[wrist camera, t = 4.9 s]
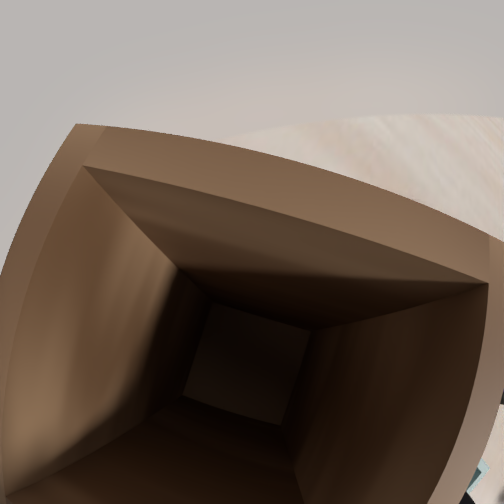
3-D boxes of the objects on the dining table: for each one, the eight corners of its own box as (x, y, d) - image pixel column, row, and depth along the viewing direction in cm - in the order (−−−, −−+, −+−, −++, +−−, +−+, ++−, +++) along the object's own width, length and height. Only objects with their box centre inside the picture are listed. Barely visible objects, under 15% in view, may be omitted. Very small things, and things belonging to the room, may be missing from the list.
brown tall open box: (286, 433, 12) (358, 621, 1) (172, 398, 13) (-17, 493, 1) (322, 323, 14) (516, 249, 2) (207, 288, 15) (76, 123, 3)
